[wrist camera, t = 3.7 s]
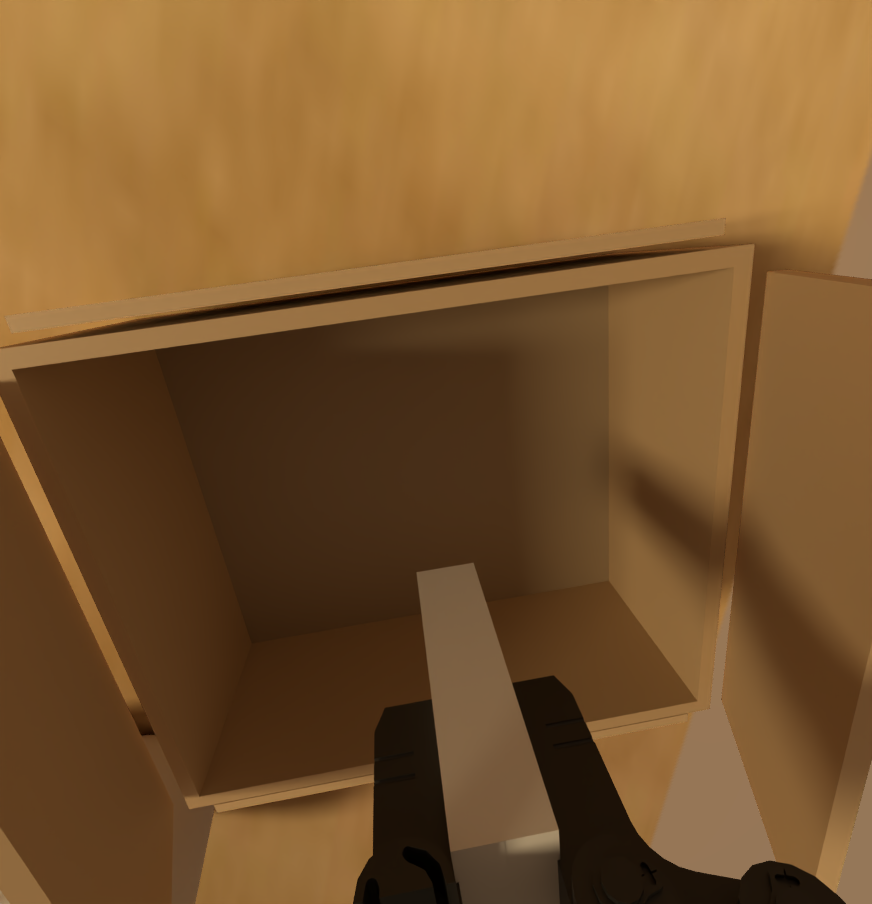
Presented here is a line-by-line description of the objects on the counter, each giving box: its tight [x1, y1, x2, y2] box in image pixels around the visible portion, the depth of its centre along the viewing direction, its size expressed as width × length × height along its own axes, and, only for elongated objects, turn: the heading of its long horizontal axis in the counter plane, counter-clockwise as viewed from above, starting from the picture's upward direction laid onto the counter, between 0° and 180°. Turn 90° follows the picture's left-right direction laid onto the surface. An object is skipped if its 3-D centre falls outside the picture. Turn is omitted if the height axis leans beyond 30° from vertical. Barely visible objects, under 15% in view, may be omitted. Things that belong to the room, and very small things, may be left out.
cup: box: [0, 735, 214, 904], centre depth 23 cm, size 11×8×8 cm
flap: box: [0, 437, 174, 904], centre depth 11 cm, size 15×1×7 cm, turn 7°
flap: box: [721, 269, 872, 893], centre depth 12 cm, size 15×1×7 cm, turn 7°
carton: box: [0, 218, 755, 813], centre depth 19 cm, size 17×19×8 cm
